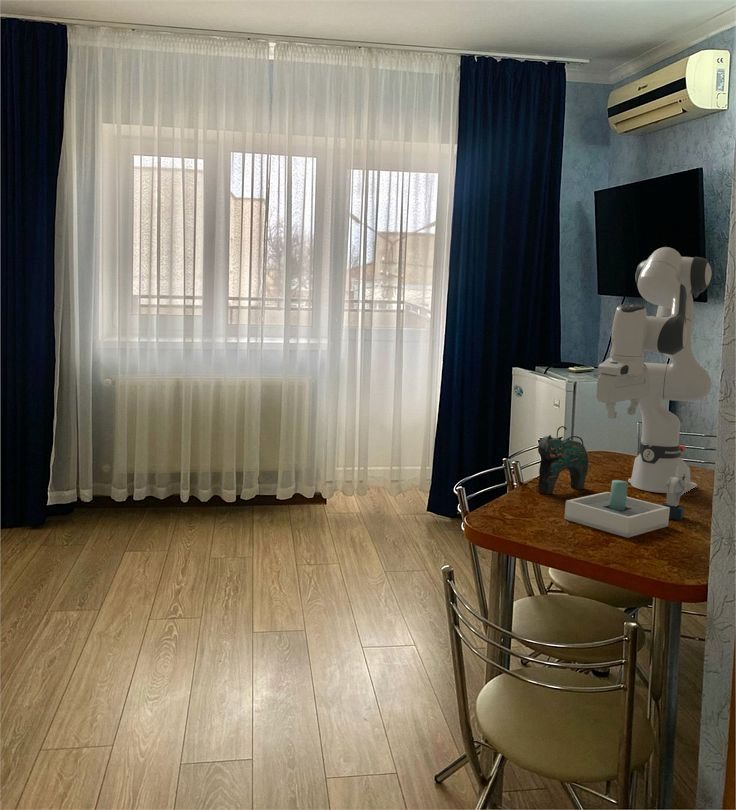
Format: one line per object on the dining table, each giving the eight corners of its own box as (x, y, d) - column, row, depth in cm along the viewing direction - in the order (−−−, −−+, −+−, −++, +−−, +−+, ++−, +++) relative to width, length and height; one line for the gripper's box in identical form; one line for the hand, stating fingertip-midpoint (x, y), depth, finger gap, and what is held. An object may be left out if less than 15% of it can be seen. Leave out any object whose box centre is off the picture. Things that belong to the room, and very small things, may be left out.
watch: (684, 515, 232) (689, 476, 230) (678, 521, 225) (683, 481, 223) (663, 511, 234) (667, 473, 233) (657, 518, 228) (661, 478, 226)
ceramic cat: (545, 496, 245) (550, 429, 242) (529, 491, 251) (534, 425, 248) (589, 489, 257) (595, 425, 254) (573, 484, 262) (578, 421, 259)
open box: (605, 509, 234) (607, 491, 233) (668, 526, 220) (669, 507, 219) (564, 519, 222) (565, 500, 221) (627, 537, 208) (629, 518, 207)
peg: (614, 515, 224) (617, 479, 222) (627, 519, 221) (630, 482, 219) (605, 518, 221) (608, 481, 220) (618, 521, 218) (622, 484, 217)
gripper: (637, 361, 233) (632, 410, 235) (594, 366, 220) (590, 418, 222) (657, 364, 228) (653, 414, 231) (615, 369, 215) (610, 422, 217)
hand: (621, 416), depth 226 cm, fingers open, 8 cm apart
